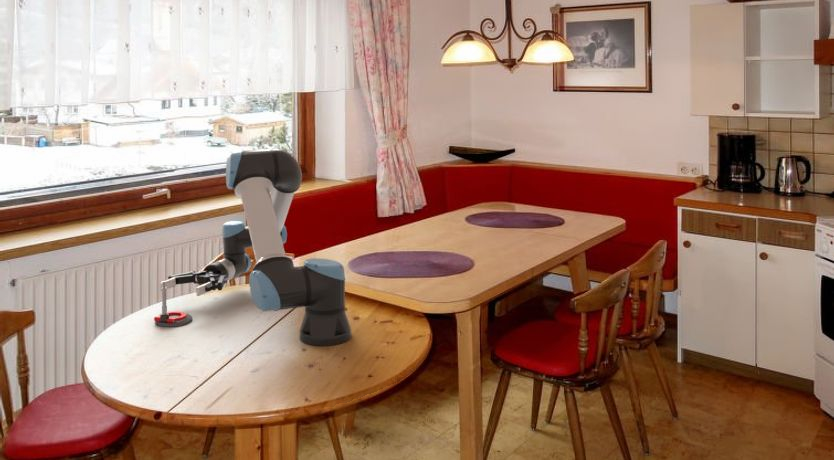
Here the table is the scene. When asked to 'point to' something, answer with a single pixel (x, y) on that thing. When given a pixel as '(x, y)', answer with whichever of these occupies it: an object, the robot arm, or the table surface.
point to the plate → (177, 323)
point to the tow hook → (165, 315)
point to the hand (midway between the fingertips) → (179, 289)
